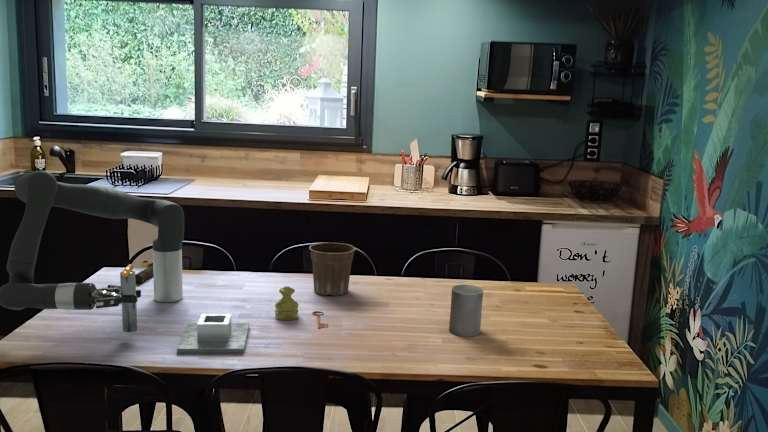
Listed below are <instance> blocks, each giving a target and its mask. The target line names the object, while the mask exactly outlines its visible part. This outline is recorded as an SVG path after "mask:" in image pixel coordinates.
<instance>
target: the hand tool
mask: <svg viewBox="0 0 768 432" xmlns="http://www.w3.org/2000/svg"><path fill="white" fill-rule="evenodd" d="M149 265H150V266H148V267H146V268H145V269H143V270H142V271H139V272H137V273H135V280H136V285H141V284H143V283H144V282H145V281H146V280H147V279H150V278H151V277H152V276H154V273H153V261H152V262H151V263H150V264H149Z"/></svg>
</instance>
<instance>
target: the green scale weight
mask: <svg viewBox="0 0 768 432" xmlns="http://www.w3.org/2000/svg"><path fill="white" fill-rule="evenodd" d="M278 292H279V293H280V294H281V296H282V297H281V298H280V299H279V300H278V301H276V302H275V304H274V307H275V310H274V316H275V318H276V319H277V320H279V321H293V320H296V319H297V318H298V317H299V302H297V301H296V300H295V299H294V298H293V297H292V295H293V294H294V293H295V292H296V290H295V288H293V287H290V285H287V286H285V285H284V286H283V287H281V288H279V290H278Z"/></svg>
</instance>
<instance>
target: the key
mask: <svg viewBox="0 0 768 432" xmlns="http://www.w3.org/2000/svg"><path fill="white" fill-rule="evenodd" d="M311 314H312V315H314V316H317V317H316V319H317V329H319V330H320V329H328V328H329V323H325V322H324V323H323V322H321V316H324V315H325V313H324V312H322V311H319V310H316V311H312V312H311Z"/></svg>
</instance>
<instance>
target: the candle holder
mask: <svg viewBox="0 0 768 432" xmlns="http://www.w3.org/2000/svg"><path fill="white" fill-rule="evenodd" d="M249 330H250V323H249V322H246V323H243V322H242V323H241V322H239V323H238V322H237V323H235V322H233V323H232V313H201V314H200V317H199V319H198V321H197V322H194V323H193V322H188V324H187V325H186V328H185V330H184V332H183V334H182V336H181V339H180V341H179V343H178V345H177V347H176V354H177V355H207V354H208V355H212V354H214V355H216V354H217V355H218V354H220V355H221V354H222V355H224V354H226V355H231V354H232V355H233V354H234V355H235V354H236V355H238V354H244V353H245V349H246V344H247V339H248V337H249V336H248V334H249Z"/></svg>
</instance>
